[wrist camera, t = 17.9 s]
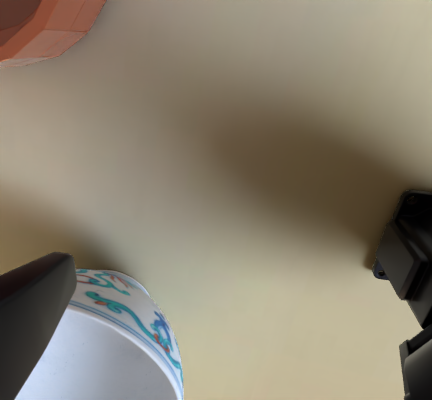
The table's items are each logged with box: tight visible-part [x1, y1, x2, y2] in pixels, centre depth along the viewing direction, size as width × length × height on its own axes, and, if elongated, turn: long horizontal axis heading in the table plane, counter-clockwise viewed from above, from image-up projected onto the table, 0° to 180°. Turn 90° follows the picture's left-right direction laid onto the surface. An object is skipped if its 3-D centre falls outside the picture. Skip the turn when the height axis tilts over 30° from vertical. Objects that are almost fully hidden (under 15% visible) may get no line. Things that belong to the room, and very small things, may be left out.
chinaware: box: [15, 269, 183, 400], centre depth 23 cm, size 15×15×8 cm
